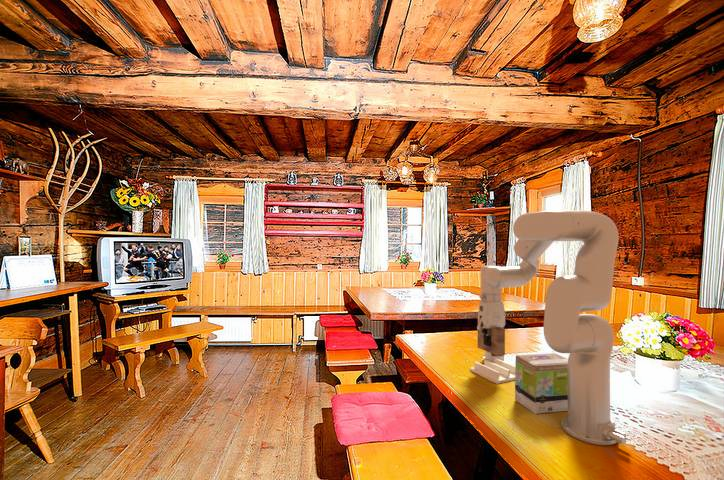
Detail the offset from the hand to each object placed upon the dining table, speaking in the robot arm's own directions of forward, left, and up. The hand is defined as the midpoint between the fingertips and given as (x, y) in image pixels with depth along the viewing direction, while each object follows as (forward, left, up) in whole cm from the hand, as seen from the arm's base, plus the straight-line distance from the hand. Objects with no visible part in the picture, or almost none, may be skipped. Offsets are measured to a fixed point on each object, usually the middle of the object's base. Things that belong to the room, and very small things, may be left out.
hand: (490, 344), depth 128 cm
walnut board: (0, 0, -3) cm, 3 cm away
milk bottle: (+12, -14, -12) cm, 22 cm away
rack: (0, -3, -12) cm, 12 cm away
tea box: (-25, +2, -12) cm, 28 cm away
